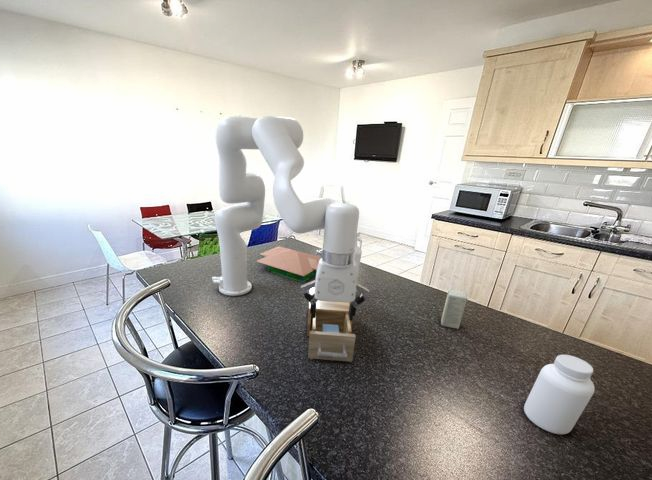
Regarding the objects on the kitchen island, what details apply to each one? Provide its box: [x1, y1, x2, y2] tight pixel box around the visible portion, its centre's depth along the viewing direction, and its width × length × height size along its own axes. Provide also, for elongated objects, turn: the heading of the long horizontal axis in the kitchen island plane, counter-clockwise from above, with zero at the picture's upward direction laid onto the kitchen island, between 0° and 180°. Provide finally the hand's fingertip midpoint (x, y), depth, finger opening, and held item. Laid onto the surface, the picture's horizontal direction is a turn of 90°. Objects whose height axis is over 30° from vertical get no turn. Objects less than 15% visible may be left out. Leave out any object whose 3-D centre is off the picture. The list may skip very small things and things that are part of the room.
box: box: [440, 289, 468, 330], centre depth 92 cm, size 5×4×11 cm
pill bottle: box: [523, 354, 595, 435], centre depth 59 cm, size 8×8×15 cm
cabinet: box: [306, 287, 354, 337], centre depth 91 cm, size 15×13×10 cm
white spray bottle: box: [354, 230, 363, 277], centre depth 105 cm, size 7×12×25 cm, turn 131°
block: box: [322, 324, 339, 333], centre depth 80 cm, size 4×4×4 cm
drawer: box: [307, 311, 357, 363], centre depth 79 cm, size 18×11×8 cm, turn 174°
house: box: [255, 245, 321, 283], centre depth 133 cm, size 23×33×8 cm
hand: (332, 316), depth 78 cm, fingers open, 9 cm apart
